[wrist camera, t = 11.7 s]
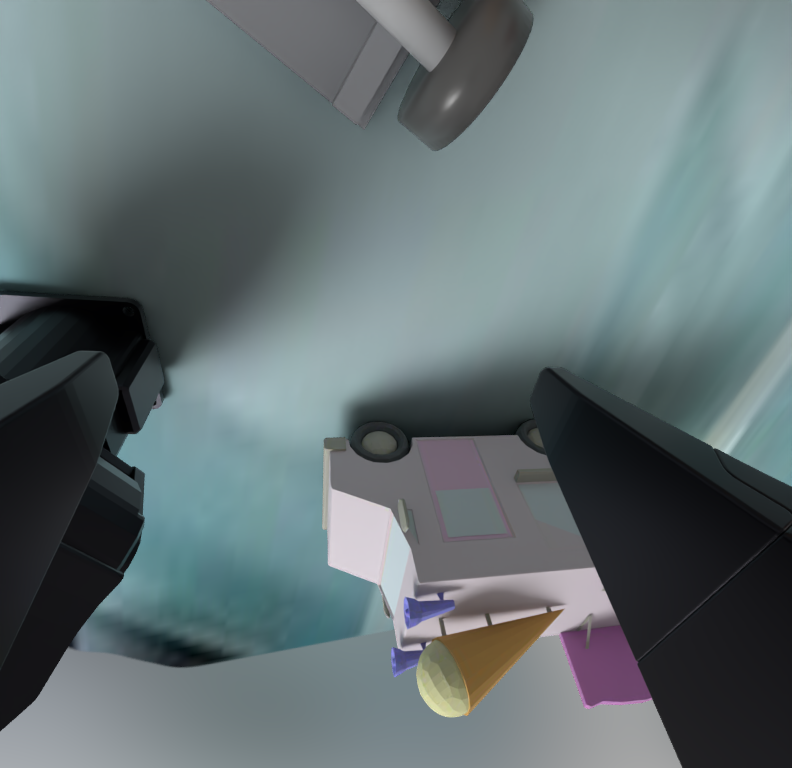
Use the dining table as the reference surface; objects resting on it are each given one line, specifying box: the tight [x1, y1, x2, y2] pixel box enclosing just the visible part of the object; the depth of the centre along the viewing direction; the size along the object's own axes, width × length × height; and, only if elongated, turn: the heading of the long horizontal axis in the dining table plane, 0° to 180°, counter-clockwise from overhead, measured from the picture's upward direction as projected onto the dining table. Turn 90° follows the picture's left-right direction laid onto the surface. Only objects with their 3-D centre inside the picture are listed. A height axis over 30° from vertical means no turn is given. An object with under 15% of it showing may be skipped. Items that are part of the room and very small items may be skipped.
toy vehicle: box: [322, 420, 652, 717], centre depth 25 cm, size 9×20×15 cm, turn 83°
